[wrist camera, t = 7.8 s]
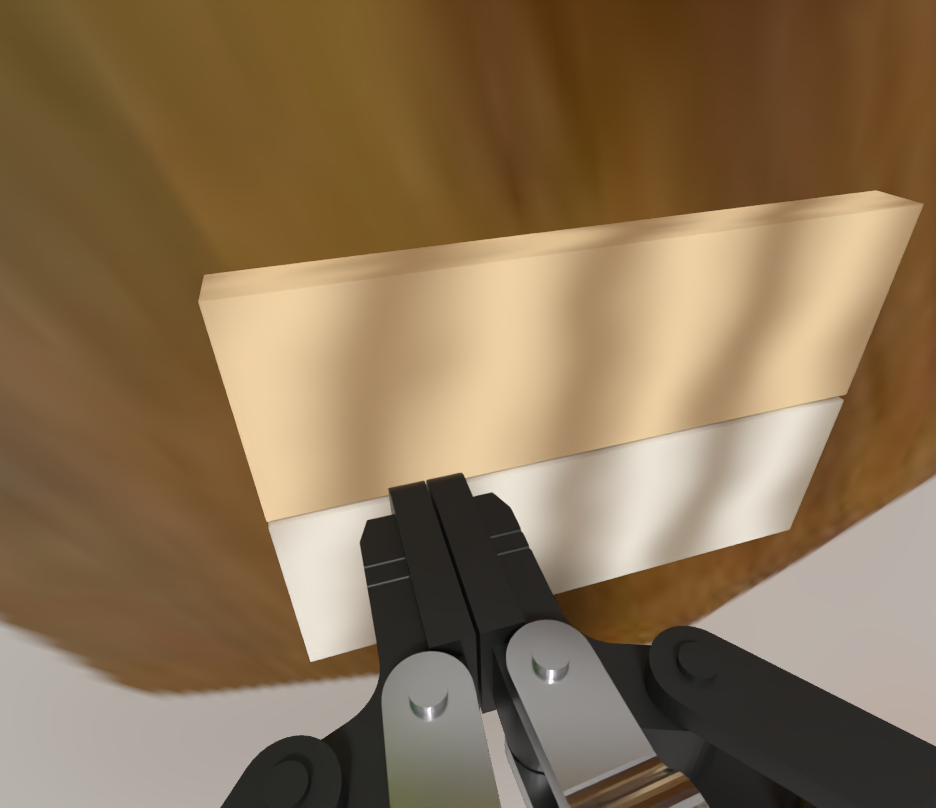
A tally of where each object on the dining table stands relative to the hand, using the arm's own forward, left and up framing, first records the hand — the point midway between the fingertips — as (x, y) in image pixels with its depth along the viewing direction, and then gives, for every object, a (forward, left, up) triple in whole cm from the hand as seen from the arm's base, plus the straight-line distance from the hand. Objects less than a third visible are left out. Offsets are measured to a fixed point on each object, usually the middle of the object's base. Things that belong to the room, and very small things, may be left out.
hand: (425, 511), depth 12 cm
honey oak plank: (-8, +2, -9) cm, 12 cm away
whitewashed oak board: (-8, +10, -9) cm, 16 cm away
